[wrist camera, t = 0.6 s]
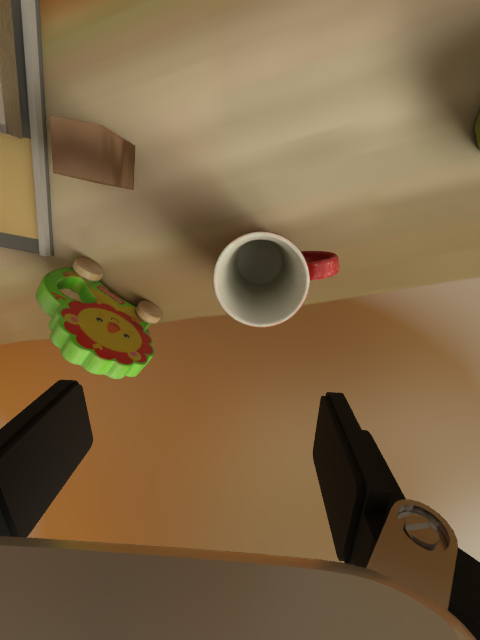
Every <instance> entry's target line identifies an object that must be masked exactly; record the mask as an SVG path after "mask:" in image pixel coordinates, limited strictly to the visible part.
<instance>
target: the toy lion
mask: <svg viewBox="0 0 480 640" xmlns="http://www.w3.org/2000/svg"><path fill="white" fill-rule="evenodd" d="M103 274H104V270H103V268H102V267H101V266H100V265H99V264H97V263H96V262H94V261H92V260H90V259H88V258H84V257H79V258H77V259H76V260H75V262H74V264H73V268H63V269H58V270H55V271H52V272H50V273H48V274H47V275H46V276H45V277H44V278H43V280H42V282H41V284H40V286H39V288H38V290H37V292H36V298H37V301H38V304H39V305H40V307H41V308H42V309H43V310H44V311H45V312H46V313H47V314H48V315H49V316H50V317H51V318H52V319H51V321H50V323H49V328H50V330H51V331H52V333H51V335H50V338H51V341H52V342H53V344H54V345H56V346H57V347H58V348H60V349H61V354H62V356H63V357H64V358H65V359H66V360H67V361H69V362H70V363H72V364H77V365H81V366H82V367H83V368H84V369H85V370H87V371H89V372H91V373H93V374H99V375H100V374H105V375H107V376H108V377H110V378H114V379H120V378H123V377H124V376H129V377H135V376H136V375H138V374H139V372H140V371H141V370H142V369H143V367H145V366H146V365H147V363H148V362H149V361H150V359H151V358H152V357H153V356H154V353H155V351H154V348H153V347H152V339H151V337H150V336H149V330H148V329H147V328H148V326H149V325H150V324H151V323H157V322H158V321H159V320H160V318H161V317H162V312H161V310H160V309H159V308H158V307H157V306H156V305H155V304H153V303H151V302H149V301H140V302H139V304H138V305H137V307H135V306H133V305H131V304H129V303H127V302H126V301H124V300H122V299H121V298H119V297H118V296H116V295H115V294H113V293H112V292H111V291H109V290H108V289H107V288H106V287H105V286H104V285H103V284H102V283H101V282H100V281H99V280H100V279H101V277H102V276H103ZM59 289H62V291H63V292H64V293H65V294H66V295H67V296H69V297H71V298H73V299H76V300H81V301H82V302H78V301H75V300H73V299H70V298H68V297H67V296H65V295H64V294H63V293H61V292H60V290H59Z"/></svg>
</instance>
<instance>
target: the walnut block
mask: <svg viewBox="0 0 480 640" xmlns="http://www.w3.org/2000/svg"><path fill="white" fill-rule="evenodd" d="M50 121H51V140H52V159H53V173H56V174H60V175H64V176H69V177H73V178H77V179H82V180H86V181H90V182H95V183H100V184H105V185H110V186H116V187H121V188H126V189H131V190H133V189H134V164H135V146H134V145H133V144H131V143H129V142H128V141H126V140H125V139H123V138H121V137H120V136H118V135H117V134H115V133H113V132H112V131H110V130H108V129H107V128H105V127H104V126H102V125H97V124H92V123H87V122H82V121H77V120H71V119H66V118H61V117H56V116H51V115H50Z"/></svg>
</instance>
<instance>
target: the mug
mask: <svg viewBox="0 0 480 640" xmlns="http://www.w3.org/2000/svg"><path fill="white" fill-rule="evenodd" d="M338 271H339V260H338V256H337V255H336V254H334V253H331V252H324V251H300V250H299V249H298V248H297V246H295V245H294V244H293V243H292V242H291V241H290V240H288V239H287V238H285V237H283V236H281V235H278V234H276V233H272V232H265V231H257V232H251V233H247V234H244V235H242V236H240V237H238V238H236V239H234V240H233V241H232V242H230V243H229V244H228V245H227V246H226V247H225V248H224V249H223V251H222V252H221V254H220V255H219V257H218V259H217V262H216V265H215V268H214V274H213V286H214V291H215V294H216V297H217V299H218V301H219V303H220V305H221V306H222V308H223V309H224V310H225V311H226V312H227V314H229V315H230V316H231V317H232V318H233V319H235V320H237V321H238V322H241V323H243V324H245V325H249V326H253V327H268V326H274V325H277V324H280V323H282V322H284V321H286V320H288V319H289V318H290V317H292V316H293V315H294V314H295V313H296V312H297V311H298V310H299V309H300V307H301V306H302V305H303V303H304V301H305V299H306V296H307V293H308V290H309V283H310V280H317V279H323V278H327V277H331V276H333V275H335V274H337V273H338Z"/></svg>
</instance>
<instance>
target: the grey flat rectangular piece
mask: <svg viewBox="0 0 480 640" xmlns="http://www.w3.org/2000/svg"><path fill="white" fill-rule="evenodd" d="M11 7H12V19H13V31H14V43H15V55H16V67H17V79H18V90H19V102H20V114H21V126H22V138H23V139H19V138H13V137H8V136H3V135H0V247H6V248H11V249H16V250H22V251H27V252H33V253H38V254H40V256H44V257H47V256H53V237H52V220H51V203H50V185H49V168H48V151H47V133H46V116H45V99H44V81H43V64H42V47H41V29H40V12H39V0H11Z"/></svg>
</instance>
